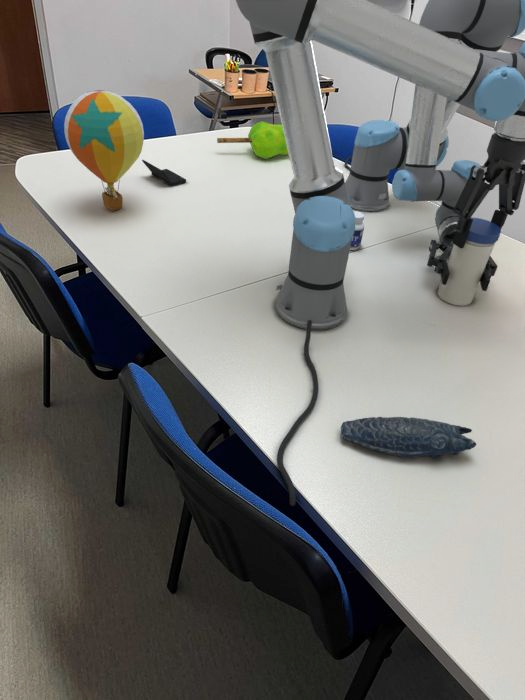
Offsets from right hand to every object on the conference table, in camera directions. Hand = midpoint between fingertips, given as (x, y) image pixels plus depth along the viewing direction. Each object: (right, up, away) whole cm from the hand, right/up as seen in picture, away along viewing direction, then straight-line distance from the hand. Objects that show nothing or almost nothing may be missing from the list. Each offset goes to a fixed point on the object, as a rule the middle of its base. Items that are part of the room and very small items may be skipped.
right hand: (466, 282), depth 114 cm
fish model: (-22, -30, -30) cm, 48 cm away
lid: (+2, +11, -3) cm, 12 cm away
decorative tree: (-47, +56, +75) cm, 105 cm away
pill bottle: (-22, +13, +24) cm, 35 cm away
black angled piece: (-76, +39, +50) cm, 99 cm away
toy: (-87, +25, +31) cm, 95 cm away
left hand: (+1, +9, -1) cm, 9 cm away
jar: (0, -2, +8) cm, 8 cm away
